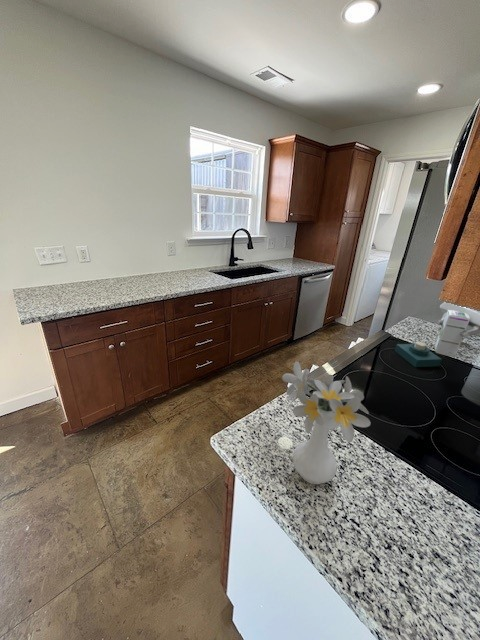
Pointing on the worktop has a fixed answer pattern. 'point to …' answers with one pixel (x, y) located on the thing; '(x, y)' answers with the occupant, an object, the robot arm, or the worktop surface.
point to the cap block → (417, 355)
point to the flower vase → (322, 421)
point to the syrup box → (451, 333)
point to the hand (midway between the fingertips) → (451, 330)
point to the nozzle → (420, 345)
